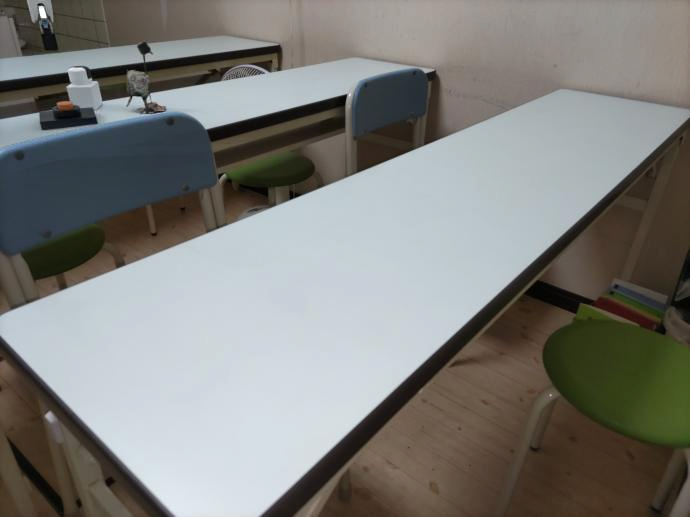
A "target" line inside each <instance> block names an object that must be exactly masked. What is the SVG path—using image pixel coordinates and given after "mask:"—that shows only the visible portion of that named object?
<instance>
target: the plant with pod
mask: <svg viewBox="0 0 690 517" xmlns="http://www.w3.org/2000/svg"><path fill="white" fill-rule="evenodd" d="M136 48H137V50H138V52H139V53H140V54H141V55H142V59H143V60H142V61H143V67H144V71H145V72H144V71H139V70H134V69H131V70H127V72H126V86H125V87H126V93H127V94H128V96H129V98H128V100H127V103H126V105H125V106H126V108H128V107H129V106H130V104H131V102H132V100H133V97H137V98H141V100H142V101H143V104H144V107H139V108H137V111H138V110H140V109H142V110H140V112H139V115H147V114H153V113H154V112H155V113H156V112H165V111H166V109H167V106H166V105H160V104H158V102H157V101H152V95H151V90H150V83H151V81H150V76H149V74H148V71H147V65H146V55H147V54H150V55H154V53H153V52H152V48H151V47H150V45H149V44H148V42H147V41H146V40H142V41H141V42H139V43H137V45H136ZM148 98H149V100H150V102H148ZM143 108H144V109H143ZM145 113H147V114H145Z"/></svg>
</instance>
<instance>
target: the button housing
mask: <svg viewBox="0 0 690 517" xmlns="http://www.w3.org/2000/svg"><path fill="white" fill-rule="evenodd" d="M73 106H74V108H73V109H69V110H58V107H57V105H55V106H52V108H51V109H52V110H42V111H38V117H39V125H40V128H41V129H40V130H42V131H45V130H56V129H65V128H74V127H83V126H93V125H98V123H99V122H98V119H97V118H98V117H97V115H96V112H95V110H93V107H89V108H80V107H79V106H78V105H73Z"/></svg>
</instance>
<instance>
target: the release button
mask: <svg viewBox="0 0 690 517" xmlns="http://www.w3.org/2000/svg"><path fill="white" fill-rule="evenodd" d="M56 106H57V107H58V110H69V109H73V108H74V106H73V102H70V100H63V101H58V102H56Z"/></svg>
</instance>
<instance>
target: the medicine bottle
mask: <svg viewBox="0 0 690 517" xmlns="http://www.w3.org/2000/svg"><path fill="white" fill-rule="evenodd" d="M67 74H68V78H69V82H70V84H69V85H67V86H66V87H65V88H66V91H67V95H68V101H70V102H73V105H78V106H79V107H80V108H89V107H93V110H94V111H97V110H98V109H99V108H100V107H102V106H103V104H104V103H103V98H102V94H101V89H100V85H99V82H98V81H97V80H93V77H92V74H91V69H90V68H89V67H88V66H85V65H73V66H69V68H67Z"/></svg>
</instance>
